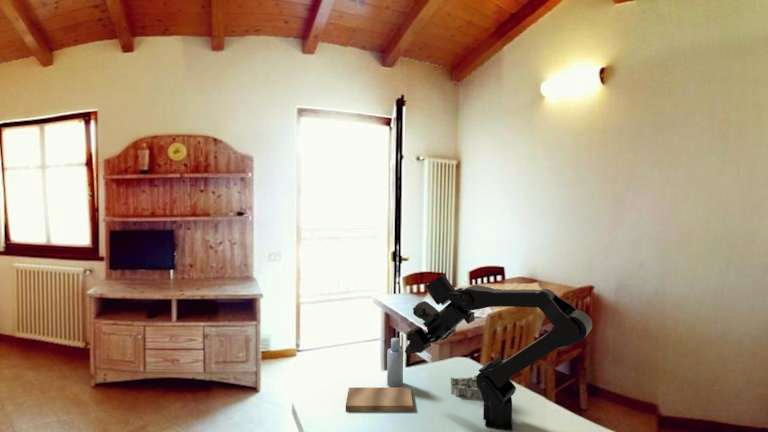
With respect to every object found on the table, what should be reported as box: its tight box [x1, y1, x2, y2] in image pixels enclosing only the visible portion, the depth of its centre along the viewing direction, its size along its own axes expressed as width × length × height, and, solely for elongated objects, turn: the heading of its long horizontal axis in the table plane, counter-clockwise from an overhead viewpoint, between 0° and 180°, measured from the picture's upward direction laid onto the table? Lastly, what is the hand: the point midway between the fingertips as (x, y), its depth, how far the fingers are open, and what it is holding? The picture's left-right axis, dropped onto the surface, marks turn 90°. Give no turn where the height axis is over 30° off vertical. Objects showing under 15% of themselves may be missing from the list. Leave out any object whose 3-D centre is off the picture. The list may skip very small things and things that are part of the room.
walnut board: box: [345, 386, 414, 412], centre depth 109 cm, size 18×10×2 cm, turn 90°
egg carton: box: [450, 375, 483, 399], centre depth 115 cm, size 11×8×4 cm
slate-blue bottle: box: [386, 337, 404, 387], centre depth 119 cm, size 5×5×14 cm
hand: (414, 347), depth 114 cm, fingers open, 9 cm apart
